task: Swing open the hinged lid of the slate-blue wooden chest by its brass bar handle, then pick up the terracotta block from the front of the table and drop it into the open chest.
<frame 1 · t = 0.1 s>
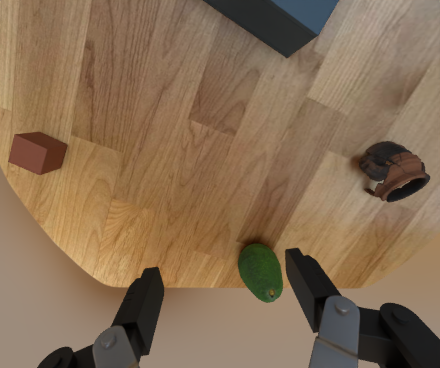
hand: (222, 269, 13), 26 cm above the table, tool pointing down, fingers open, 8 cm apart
block: (50, 150, 35), on the table
avocado: (253, 249, 44), on the table
pottery mug: (372, 166, 39), on the table
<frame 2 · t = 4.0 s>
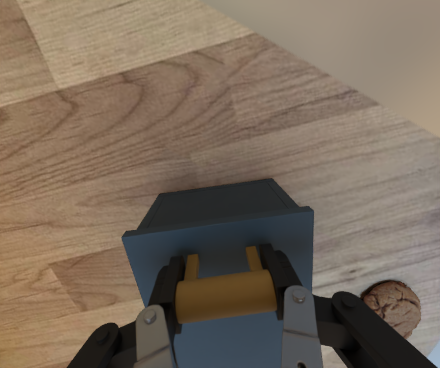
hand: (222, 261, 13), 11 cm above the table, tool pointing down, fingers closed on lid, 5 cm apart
chest: (224, 248, 26), on the table
lid: (234, 344, 15), point 12 cm above the table, hinge at 0.0°, touching gripper
cookie: (378, 306, 30), on the table
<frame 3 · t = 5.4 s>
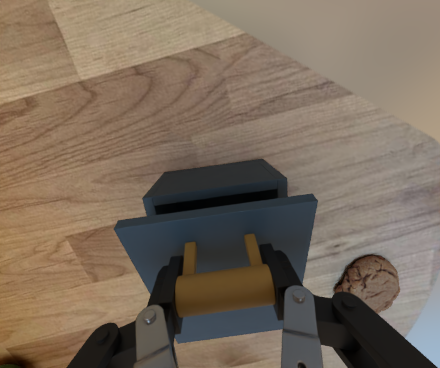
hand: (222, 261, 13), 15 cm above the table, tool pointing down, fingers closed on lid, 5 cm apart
chest: (221, 223, 29), on the table
lid: (231, 314, 16), point 14 cm above the table, hinge at 15.1°, touching gripper
avocado: (16, 365, 36), on the table
cookie: (362, 280, 33), on the table
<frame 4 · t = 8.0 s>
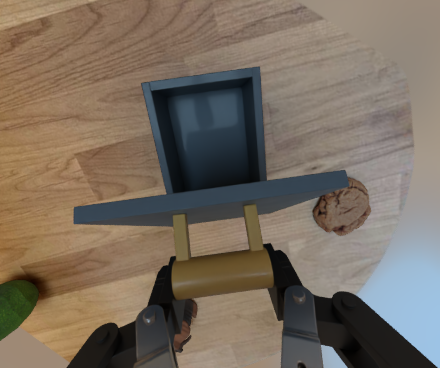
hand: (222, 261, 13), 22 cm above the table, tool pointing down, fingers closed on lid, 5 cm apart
chest: (211, 143, 33), on the table
lid: (221, 237, 18), point 18 cm above the table, hinge at 59.2°, touching gripper
avocado: (30, 284, 40), on the table
cookie: (338, 204, 37), on the table
pottery mug: (173, 306, 44), on the table
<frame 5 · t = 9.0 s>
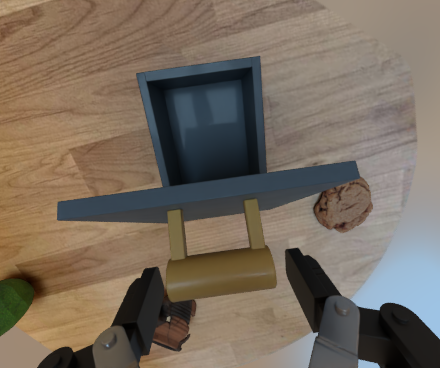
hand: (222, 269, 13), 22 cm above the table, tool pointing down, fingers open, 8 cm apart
chest: (210, 138, 32), on the table
lid: (220, 234, 17), point 18 cm above the table, hinge at 59.5°
avocado: (25, 282, 39), on the table
cookie: (339, 200, 37), on the table
pottery mug: (171, 305, 43), on the table
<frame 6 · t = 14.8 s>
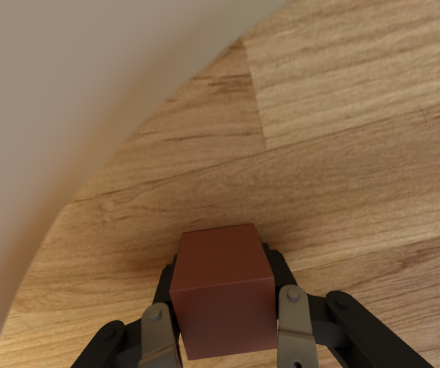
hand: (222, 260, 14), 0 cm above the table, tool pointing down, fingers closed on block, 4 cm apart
block: (222, 257, 14), on the table, touching gripper
when the fingers open (14 cm above the table, at t = 22.1 s): block drops 13 cm, resting on chest.
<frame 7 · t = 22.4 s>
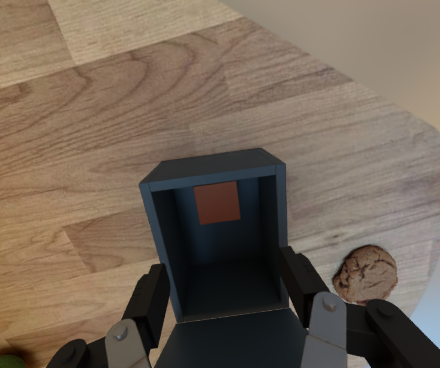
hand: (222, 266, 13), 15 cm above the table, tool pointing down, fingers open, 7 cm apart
chest: (219, 213, 29), on the table
block: (216, 189, 27), point 1 cm above the table, touching chest
avocado: (16, 355, 36), on the table
cookie: (360, 271, 33), on the table
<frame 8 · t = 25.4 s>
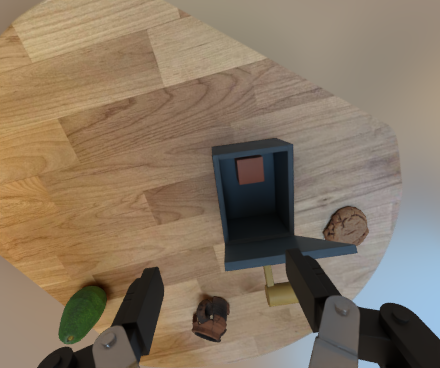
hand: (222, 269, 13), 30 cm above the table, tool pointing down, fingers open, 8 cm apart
chest: (247, 182, 43), on the table
lid: (273, 264, 28), point 18 cm above the table, hinge at 59.5°
block: (246, 165, 41), point 1 cm above the table, touching chest
avocado: (97, 288, 50), on the table
cookie: (342, 226, 48), on the table
pottery mug: (209, 306, 54), on the table
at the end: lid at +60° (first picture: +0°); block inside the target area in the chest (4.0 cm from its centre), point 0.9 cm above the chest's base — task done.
